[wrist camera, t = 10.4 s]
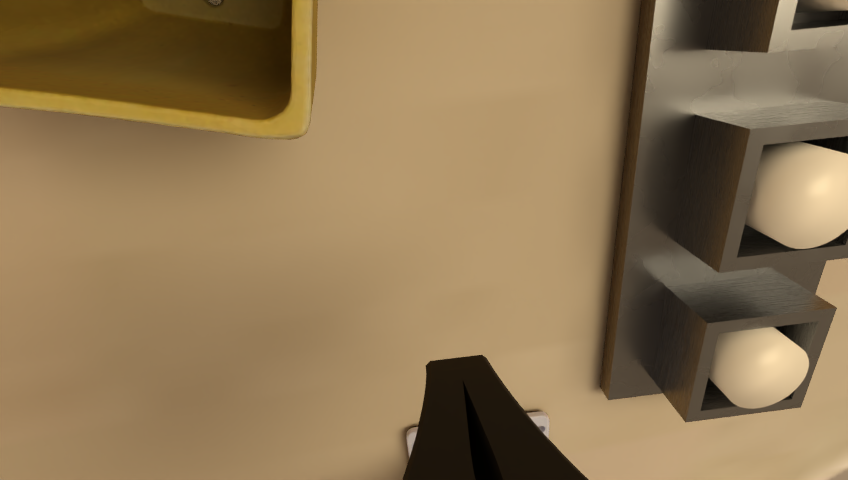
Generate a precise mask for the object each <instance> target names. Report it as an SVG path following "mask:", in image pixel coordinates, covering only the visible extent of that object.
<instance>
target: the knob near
mask: <svg viewBox="0 0 848 480" xmlns="http://www.w3.org/2000/svg"><path fill="white" fill-rule="evenodd" d="M845 10H848V0H798V2H797V6H796V10H795V13H802V12H824V11H845Z"/></svg>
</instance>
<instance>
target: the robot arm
mask: <svg viewBox="0 0 848 480" xmlns="http://www.w3.org/2000/svg"><path fill="white" fill-rule="evenodd" d="M539 426H541V427H539ZM406 438H407V446H408V453H409V461H408V465H407V468H406V471H405V474H404V477H403V480H588V479H587V478H586V477H585V476H584V475H583V474H582V473H581V472H580V471H579V470H578V469H577V468H576V467H575V466H574V465H573V464H572V463H571V462H570V461H569V460H568V459H567V458H566V457H565V456H564V455H563V454H562V453H561V452H560V451H559V450H558V448H557V447H556V446H555V445H554V444H553V443H552V442H551V441H550V440H549V418H548V415H547V414H546V413H545V412H542V411H538V412H530V413H526V412H525V411H524V410H523V408H522V407H521V406H520V405H519V404H518V402H517V401H516V400H515V399H514V397H513V396H512V395H511V393H510V392H509V391H508V389H507V388H506V387H505V385H504V384H503V382H502V381H501V380H500V378H499V377H498V375H497V374H496V372H495V371H494V369H493V368H492V366H491V365H490V363H489V361H488V360H487V358H486V357H484V356H483V355H477V356H469V357H461V358H452V359H444V360H436V361H430V362H429V363H428V364H427V365H426V388H425V395H424V401H423V407H422V412H421V416H420V421H419V425H418V427H414V428H411V429H409V430H408V431H407V434H406Z"/></svg>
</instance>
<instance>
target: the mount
mask: <svg viewBox="0 0 848 480" xmlns="http://www.w3.org/2000/svg"><path fill="white" fill-rule="evenodd" d="M797 2H798V0H642V1H641V11H640V20H639V29H638V38H637V48H636V57H635V66H634V76H633V85H632V94H631V104H630V113H629V122H628V132H627V141H626V150H625V160H624V169H623V178H622V187H621V197H620V206H619V215H618V225H617V234H616V243H615V253H614V262H613V271H612V281H611V290H610V299H609V309H608V318H607V327H606V336H605V346H604V355H603V364H602V374H601V383H600V387H601V389H602V391H603V392H604V394H605V396H606V397H607V399H608V400H613V399H621V398H628V397H636V396H644V395H652V394H660V393H663V394H664V395H665V396H666V398H667V399H668V400H669V402H670V403H671V404H672V405H673V407H674V408H675V409H676V411H677V412H678V413H679V414H680V416H681V417H682V418H683V420H684V421H685V422H692V421H699V420H707V419H715V418H722V417H730V416H738V415H745V414H753V413H761V412H768V411H776V410H784V409H791V408H799V407H801V405H802V402H803V400H804V397H805V394H806V391H807V389H808V386H809V383H810V380H811V378H812V375H813V372H814V369H815V367H816V364H817V361H818V358H819V356H820V353H821V350H822V347H823V345H824V342H825V339H826V336H827V334H828V331H829V328H830V325H831V323H832V320H833V317H834V314H835V311H836V309H837V308H836V307H835V306H833V305H832V304H830V303H828V302H827V301H825V300H823V299H822V298H820V297H818V296H817V295H815V293H816V290H817V287H818V284H819V281H820V278H821V275H822V272H823V269H824V266H825V263H826V260H834V259H843V258H848V229H847V230H846V231H845V232H843V233H842V234H841V235H839V236H838V237H836V238H835V239H833V240H831V241H829V242H827V243H825V244H823V245H820V246H817V247H814V248H808V249H795V248H790V247H788V246H785V245H783V244H782V243H780V242H778V241H776V240H774V239H772V238H770V237H768V236H767V235H765V234H763V233H761V232H759V231H757V230H755V229H753V228H751V227H750V226H748V225H746V224H745V221H746V217H747V213H748V208H749V204H750V200H751V196H752V191H753V187H754V183H755V179H756V175H757V170H758V166H759V162H760V158H761V154H762V149H763V145H767V144H777V143H786V142H796V141H800V142H804V143H808V144H812V145H816V146H819V147H823V148H827V149H831V150H835V151H838V152H842V153H846V154H848V10H845V11H824V12H802V13H795V10H796V6H797ZM768 327H774V328H775V329H777V330H778V331H779V332H781V333H782V334H783V335H785V336H786V337H787V338H789V339H790V340H791V341H793V342H794V343H795V344H797V345H798V346H799V347H800V348H802V349H803V350H804V351H805V352H806V354H807V356H808V359H809V368H808V372H807V374H806V376H805V378H804V380H803V381H802V383H801V384H800V385H799V386H798V388H797V389H796V390H794V391H793V392H792V393H791V394H790V395H788V396H787V397H786V398H784V399H782V400H781V401H779V402H777V403H774V404H772V405H769V406H766V407H762V408H755V409H748V408H742V407H739V406H737V405H735V404H733V403H732V402H731V401H730V400H729V399H728V398H727V397H726V395H725V394H724V393H723V392H722V391H721V390H720V389H719V388H718V387H717V386H716V385H715V384H714V383H713V382H712V381H711V380H710V379H709V373H710V368H711V364H712V360H713V356H714V352H715V347H716V343H717V339H718V335H719V333H727V332H735V331H744V330H752V329H760V328H768Z"/></svg>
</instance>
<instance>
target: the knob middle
mask: <svg viewBox="0 0 848 480" xmlns="http://www.w3.org/2000/svg"><path fill="white" fill-rule="evenodd" d="M745 224H746V225H748V226H750V227H751V228H753V229H755V230H757V231H759V232H761V233H763V234H765V235H767V236H768V237H770V238H772V239H774V240H776V241H778V242H780V243H782V244H783V245H785V246H788V247H790V248H795V249H808V248H814V247H817V246H820V245H823V244H825V243H827V242H829V241H831V240H833V239H835V238H836V237H838V236H839V235H841V234H842V233H843V232H845V231H846V230H847V229H848V154H846V153H842V152H838V151H835V150H831V149H827V148H823V147H819V146H816V145H812V144H808V143H804V142H800V141H796V142H786V143H777V144H767V145H763V149H762V154H761V158H760V162H759V166H758V170H757V175H756V179H755V183H754V187H753V191H752V196H751V200H750V204H749V208H748V213H747V217H746V221H745Z"/></svg>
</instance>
